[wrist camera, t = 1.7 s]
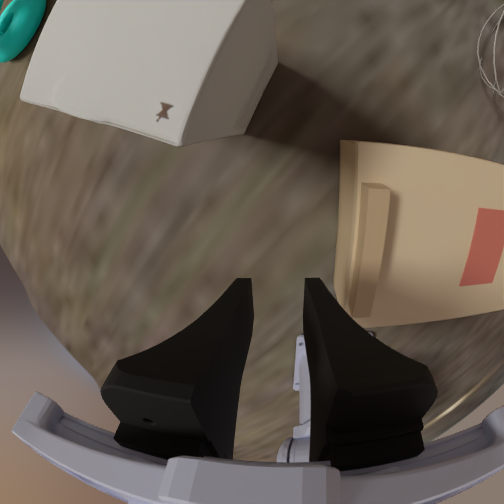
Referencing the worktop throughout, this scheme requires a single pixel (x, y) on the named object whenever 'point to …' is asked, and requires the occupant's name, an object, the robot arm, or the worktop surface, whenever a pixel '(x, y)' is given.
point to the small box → (156, 65)
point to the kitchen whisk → (494, 56)
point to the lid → (424, 236)
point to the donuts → (19, 26)
